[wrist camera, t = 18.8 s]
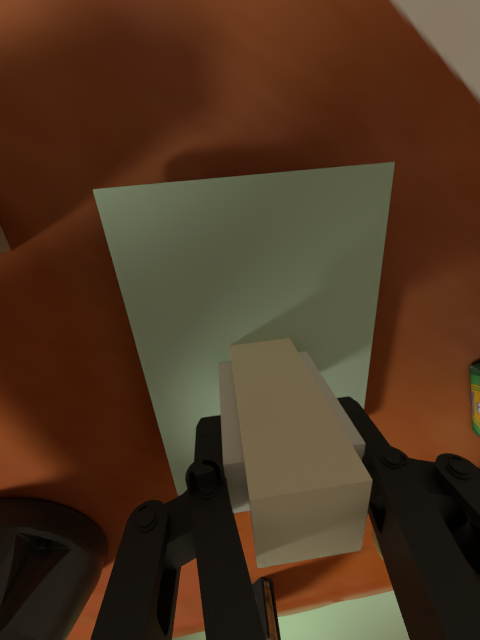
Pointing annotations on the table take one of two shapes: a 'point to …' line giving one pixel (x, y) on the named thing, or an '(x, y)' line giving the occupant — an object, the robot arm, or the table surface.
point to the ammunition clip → (267, 608)
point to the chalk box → (475, 397)
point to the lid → (260, 331)
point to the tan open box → (3, 242)
